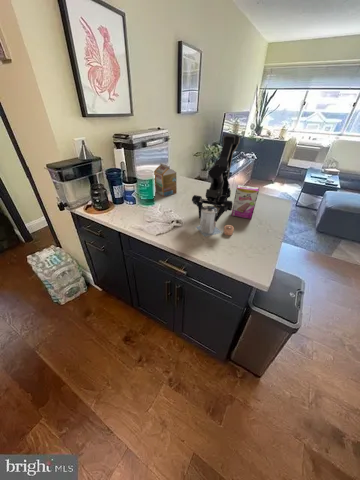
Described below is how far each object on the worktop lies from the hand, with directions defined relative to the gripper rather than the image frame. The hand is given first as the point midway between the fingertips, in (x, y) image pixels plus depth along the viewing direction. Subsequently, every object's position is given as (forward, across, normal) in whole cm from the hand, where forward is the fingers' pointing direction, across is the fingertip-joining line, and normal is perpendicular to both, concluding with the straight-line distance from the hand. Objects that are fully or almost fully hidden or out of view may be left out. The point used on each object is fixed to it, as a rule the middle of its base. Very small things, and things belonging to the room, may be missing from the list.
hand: (207, 219), depth 92 cm
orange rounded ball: (+3, +10, +7) cm, 13 cm away
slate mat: (+3, 0, +7) cm, 8 cm away
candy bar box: (-12, +14, +22) cm, 29 cm away
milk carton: (-22, -39, +32) cm, 56 cm away
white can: (+4, 0, +6) cm, 7 cm away
